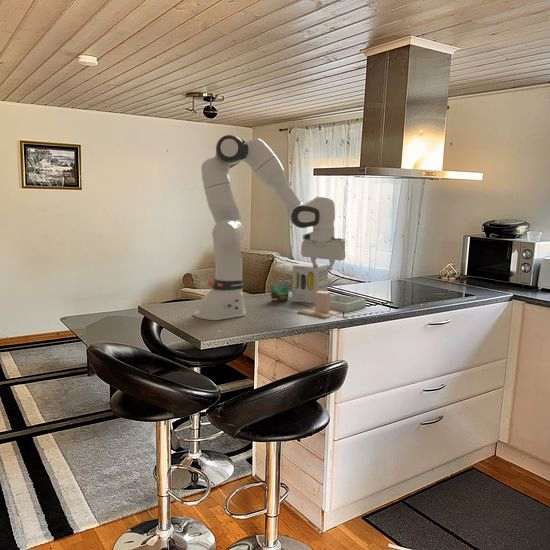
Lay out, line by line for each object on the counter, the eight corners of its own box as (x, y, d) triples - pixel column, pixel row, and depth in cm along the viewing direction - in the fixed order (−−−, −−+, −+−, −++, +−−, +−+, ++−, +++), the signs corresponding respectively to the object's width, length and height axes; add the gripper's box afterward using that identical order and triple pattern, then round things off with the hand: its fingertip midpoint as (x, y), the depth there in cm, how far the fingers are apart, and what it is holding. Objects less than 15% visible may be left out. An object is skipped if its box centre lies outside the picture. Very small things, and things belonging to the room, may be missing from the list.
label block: (325, 312, 212) (326, 293, 211) (314, 310, 214) (315, 292, 213) (330, 310, 217) (330, 291, 216) (319, 308, 219) (319, 290, 218)
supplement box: (290, 302, 236) (291, 264, 233) (301, 297, 248) (302, 261, 245) (317, 305, 230) (318, 267, 227) (327, 300, 242) (328, 263, 239)
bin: (346, 313, 215) (346, 304, 214) (317, 307, 225) (317, 298, 224) (365, 307, 226) (365, 299, 226) (336, 302, 236) (337, 294, 236)
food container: (280, 303, 231) (280, 282, 230) (269, 301, 235) (269, 280, 233) (295, 299, 241) (296, 279, 239) (285, 298, 245) (285, 277, 243)
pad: (324, 318, 204) (324, 316, 204) (297, 313, 213) (297, 311, 213) (343, 313, 215) (343, 311, 214) (317, 308, 224) (317, 306, 223)
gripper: (349, 237, 205) (347, 271, 207) (308, 234, 218) (307, 266, 220) (340, 238, 200) (339, 272, 202) (299, 235, 213) (298, 267, 215)
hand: (322, 269), depth 211 cm, fingers open, 6 cm apart
